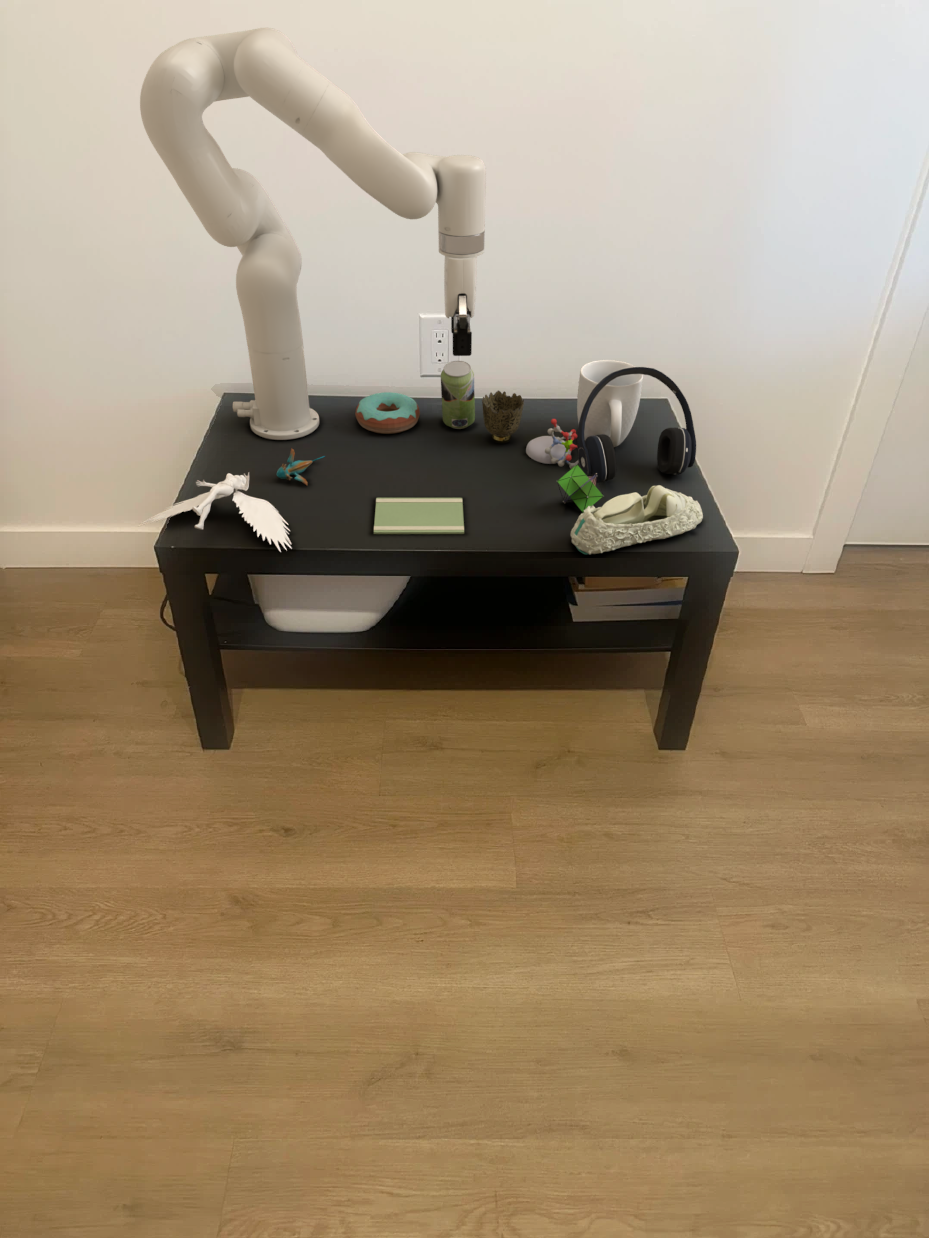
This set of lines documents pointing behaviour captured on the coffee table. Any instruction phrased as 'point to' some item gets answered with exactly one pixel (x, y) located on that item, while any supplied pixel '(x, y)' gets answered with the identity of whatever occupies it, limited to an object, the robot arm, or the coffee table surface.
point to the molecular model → (567, 444)
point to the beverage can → (458, 394)
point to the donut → (387, 413)
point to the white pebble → (538, 447)
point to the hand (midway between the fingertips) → (461, 344)
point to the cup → (502, 415)
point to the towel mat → (419, 516)
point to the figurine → (252, 508)
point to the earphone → (672, 445)
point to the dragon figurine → (294, 468)
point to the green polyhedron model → (580, 488)
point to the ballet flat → (635, 520)
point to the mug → (609, 400)
